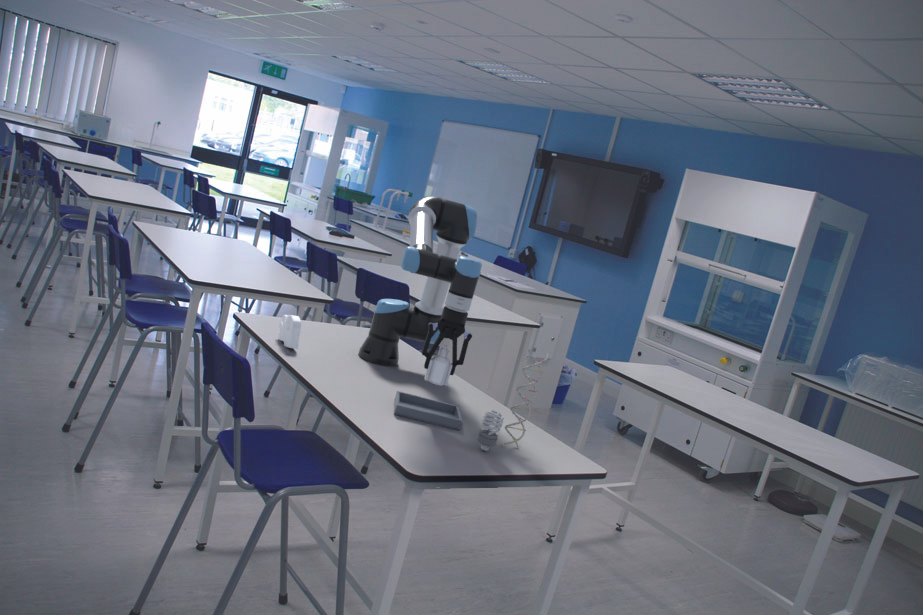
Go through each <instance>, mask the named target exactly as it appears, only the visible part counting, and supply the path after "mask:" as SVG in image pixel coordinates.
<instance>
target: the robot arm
mask: <svg viewBox="0 0 923 615" xmlns="http://www.w3.org/2000/svg"><path fill="white" fill-rule="evenodd" d="M407 217H408V218H407V219H408V223H409V225H410V233H409V234H410V236H409V246H406V247H405V249H403V250H404V251H403V254H402V257H401V263H400V268H401V269H402V270H403V271H406V272H409V273H411V274H415V275H420V276H424V277H427V278H426V282H425V285H424V288H423V291H422V294H421V298H420V300H419V301H417V302H415V304H414V307H410V304H409V302H407V301H405V300H404V301H403V300H402V299H395V298H394V299H393V298H381V299H379V300H378V301H377V304H376V306H375V309H374V310H373V313H374V314H373V318H372V320H371V324H370V326H369V327H370V328H369V332H368V335H367V337H366V339H365V340H364V342H363V343H362V345H361V346H360V347H359V350H358V356H359V357H360V358H361V359H362V360H366V361H368V362H371V363H374V364H377V365H382V366H389V367H392V366H393V367H394V366H397V365H398V362H399V361H400V360H399V359H400V358H399V356H400V355H399V341H400V338H404V339H409V340H413V341H416V342H421V343H423V347H422V350H421V355H422V356H424V357H425V362H424V365H423V367H424V369H425V370H426V372H425V375H424V381H426V382H427V381H428V376H429V373H430V369H431V366H432V362H433V357H434V354H436V351H437V350H438V348H439V346H440V345H441V343H442V341H443V340H444V339H449V340H450V341H452V344H451V345H452V347H451V348H452V352H451V353H452V354H451V355H452V356H451V357H452V361H451V362H450V367H449V370H448V374H447V377H446V381H445V384H444V385H443V386H445V387H446V386H448V383H449V379H450V376H453V375H455V371H456V367H457V366H463V365H464V362H465V357H466V355H467V350H468V347H469V346H468V345H469V342H470V341H471V339H472V338H473V334H472V333H471V332H469V331H468V330H466V327H465V326H466V322H467V319H468V316H469V311H470V308H471V305H472V302H473V299H474V294H475V291H476V289H477V288H476V287H477V285H478V281H479V278H480V276H481V273H482V272H481V270H482V267H483V264H482V262H481V261H479V260H477V259H476V258H470V257H467V256H462V255H461V256H459V255H460V251H461V249H462V248H463V247H465V246H466V245H467V244H468V241H472V240H473V239H474V237H475V235H476V230H477V221H478V213H477V210H476V208H474V207H472V206H470V205H467V204H465V203H461V202H457V201H453V200H449V199H446V198H442V197H439V196H426V197H423V198H420V199H419V200H416V202H414V203H413V204H412V206H411V207H410V209H409V211H408V216H407ZM434 231H436V233H435V237H436V238H437V245H436V248H435V251H434ZM444 304H445V306H444ZM462 335H463V338H464V339H463V342H462V346H461V351H460V353H459V354H460V355H459V358H458V339H459V337H461V336H462ZM431 344H432V345H431ZM430 345H431V348H430V347H429V346H430ZM429 348H430V349H429ZM428 350H429V351H428Z"/></svg>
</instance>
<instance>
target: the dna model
mask: <svg viewBox="0 0 923 615" xmlns="http://www.w3.org/2000/svg"><path fill="white" fill-rule="evenodd" d="M531 350H532V349H531V348H529V349H528V354H529V355H530V358H532V360H533V361H534V362H535V363H533V364H531V365H527V366H523V368H522V374H523V375H524V376H525V378H526V379H527V380H528V381H529V383H527V384H526V383H524V384H523V385H520V386H517V388H516V390H515V391H516V392H517V394H518V395H519V396H520V398H521V400H523V401H524V402H522V403H518V404H515V405H512V406H511V407H510V411H511V413H512V414H513V415H514V416H515V418H516V419H517V420H518V421H517V422H513V423H509V424H506V425H505V426H504V429H505V431H506V432H507V433H508V435H509V436H510V437H511V438H512V439H513V440H512V441H507V442H504V443H500V446H506V445H507V446H508V445H510V444H513V443H515V444H516V449H520V447H519V443H518V441H521V439H522V438H523V437H524V436H525V433H526V431H527V429H526V428H525V424H524V422H527V420H529V418H531V414H532V412H533V410H532V409H531V407H530V404H529V403H532V402H533V401H534V400H535V399H536V397H537V393H538V392H539V391H538V390H537V387H536V385H535V384H536V383H538V382H540V381H541V380H542V378H543V373H544V371H543V369H542V366H541V364H544V363H545V362H546V361H547V360H548V359H549V355H550V353H548V352H547V354H546V357H545V358H544V359H542V360H541V359H539V358H537V357H536V356H535V355H533V354H532V353H531ZM536 366H537V367H538V368H539V370H535V369H531V368H532V367H536ZM525 370H529V371H532V372H533V371H534V372H536V373H540V375H539V376H538V378H537V379H536V380H535V379H534V378H531V377H530V376H529V375H527V373H526V372H525ZM531 385H532V387H533V390H531V389H528V392H532V393H534V396H533V397H532V398H531V399H530V400H529V399H528V398H526V397H525V396H524V395H522V393H521V392H520V390H525V391H527V389H526V388H525V387H528V386H531ZM524 405H525V406H527V408H528V409H524V408H523V409H522V408H521V406H524ZM514 409H517V410H523V411H526V412H528V415H527V416H526V417H525V418H524V419H523V418H522V417H520V416H519V415H517V414H516V412H515V411H514ZM519 424H520V425H521V426H522V428H517V427H512V426H517V425H519ZM508 428H510V429H513V430H515V429H516V430H518V431H522V434H521V435H520V436H519V437H518V438H516V437H515V436H513V434H512V433H511V432H510V431H509V429H508Z"/></svg>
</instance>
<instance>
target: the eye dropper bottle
mask: <svg viewBox="0 0 923 615" xmlns="http://www.w3.org/2000/svg"><path fill="white" fill-rule="evenodd" d="M448 354H449V350H448V345H446V344H444V346H443V347H441V348H440V350H439V353H438V355H437V354H436V355H433V356H432V358H433V362H432V366H431V369H430V373H429V376H428V380H427V381H428V382H429V383H431V384H433V385H436V386H440V387H441V386H445V385H444V384H445V381H446V377H447V374H448V370H449V367H450V363H451V361H450V359H449V358H448Z"/></svg>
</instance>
